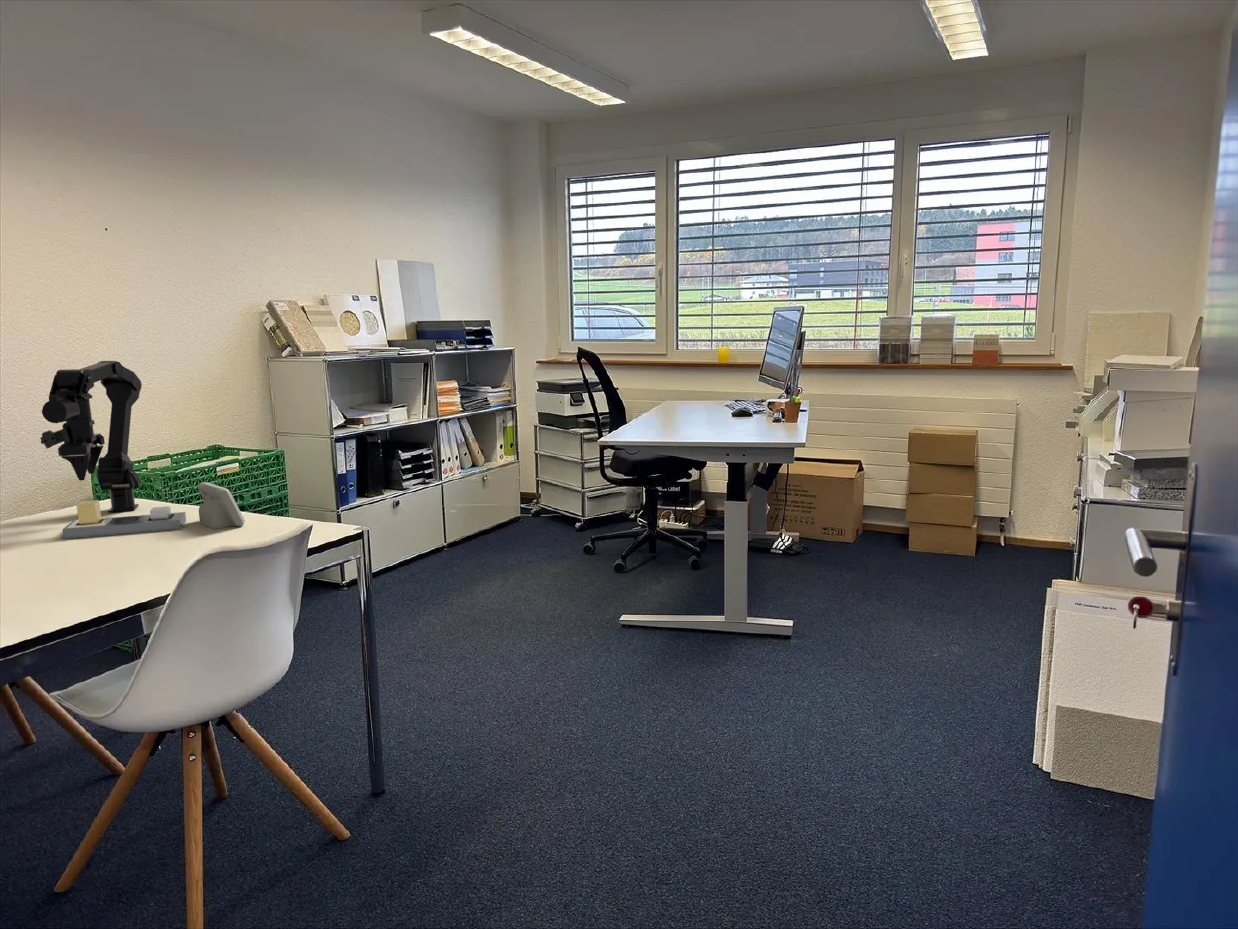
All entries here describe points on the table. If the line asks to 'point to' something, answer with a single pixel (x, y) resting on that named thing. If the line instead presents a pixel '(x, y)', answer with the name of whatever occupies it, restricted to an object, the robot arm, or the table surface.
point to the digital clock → (218, 507)
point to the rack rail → (123, 526)
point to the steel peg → (160, 513)
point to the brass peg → (89, 512)
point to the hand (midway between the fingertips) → (86, 476)
